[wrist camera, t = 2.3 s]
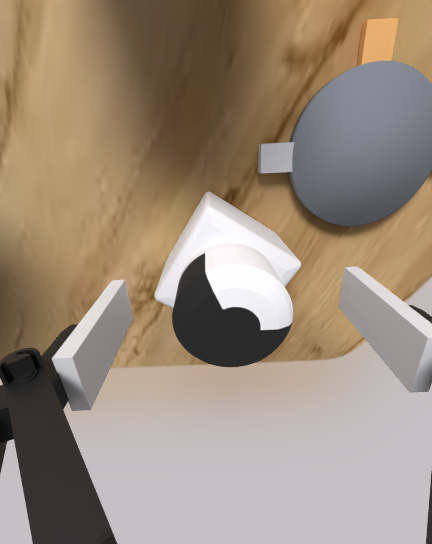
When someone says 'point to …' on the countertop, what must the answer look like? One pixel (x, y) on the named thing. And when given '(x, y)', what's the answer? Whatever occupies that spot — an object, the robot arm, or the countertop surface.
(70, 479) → the robot arm
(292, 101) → the countertop surface
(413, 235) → the countertop surface
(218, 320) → the medicine bottle
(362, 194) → the pad
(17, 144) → the countertop surface
